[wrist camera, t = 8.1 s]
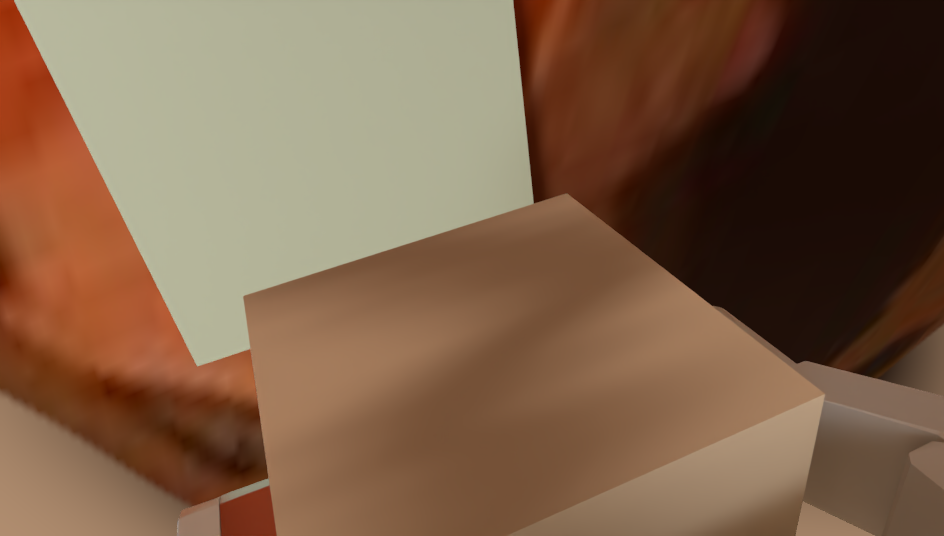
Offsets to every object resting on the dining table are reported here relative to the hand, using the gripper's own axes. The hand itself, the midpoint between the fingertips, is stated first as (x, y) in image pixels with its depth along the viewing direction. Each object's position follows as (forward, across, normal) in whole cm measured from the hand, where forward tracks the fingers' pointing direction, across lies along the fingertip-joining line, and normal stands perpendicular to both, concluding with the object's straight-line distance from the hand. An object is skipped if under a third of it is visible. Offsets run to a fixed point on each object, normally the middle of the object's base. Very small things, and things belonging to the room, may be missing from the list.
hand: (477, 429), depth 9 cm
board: (+14, 0, 0) cm, 14 cm away
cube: (+2, 0, 0) cm, 2 cm away
